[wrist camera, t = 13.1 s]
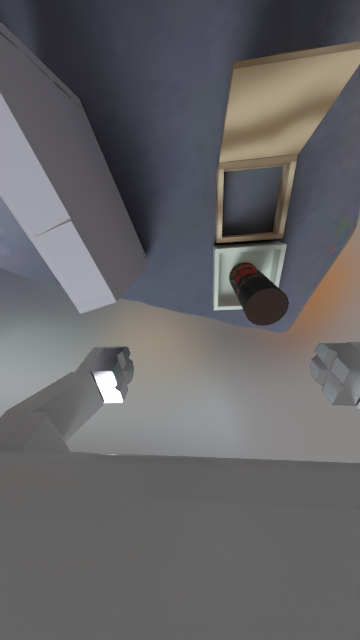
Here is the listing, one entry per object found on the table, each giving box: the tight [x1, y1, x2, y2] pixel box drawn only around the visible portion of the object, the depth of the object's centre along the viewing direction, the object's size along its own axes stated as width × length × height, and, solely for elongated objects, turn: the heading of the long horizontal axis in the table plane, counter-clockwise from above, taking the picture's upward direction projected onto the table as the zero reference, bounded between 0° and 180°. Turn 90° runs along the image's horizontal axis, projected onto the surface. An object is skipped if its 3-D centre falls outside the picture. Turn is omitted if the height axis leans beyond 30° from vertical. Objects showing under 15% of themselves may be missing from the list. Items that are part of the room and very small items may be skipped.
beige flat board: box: [219, 41, 360, 163], centre depth 22 cm, size 12×12×1 cm
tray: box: [213, 241, 287, 310], centre depth 39 cm, size 13×13×4 cm
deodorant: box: [229, 262, 289, 326], centre depth 33 cm, size 6×6×15 cm
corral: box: [216, 154, 298, 243], centre depth 33 cm, size 12×12×3 cm
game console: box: [0, 22, 147, 313], centre depth 26 cm, size 6×27×20 cm, turn 19°
